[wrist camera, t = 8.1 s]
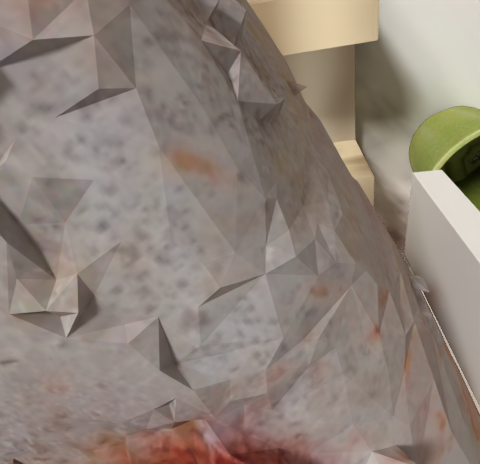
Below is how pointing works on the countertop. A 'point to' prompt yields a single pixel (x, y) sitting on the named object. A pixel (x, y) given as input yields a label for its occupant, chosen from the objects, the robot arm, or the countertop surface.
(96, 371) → the food item
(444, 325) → the robot arm
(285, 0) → the stand
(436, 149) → the plant pot
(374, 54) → the countertop surface
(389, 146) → the countertop surface
